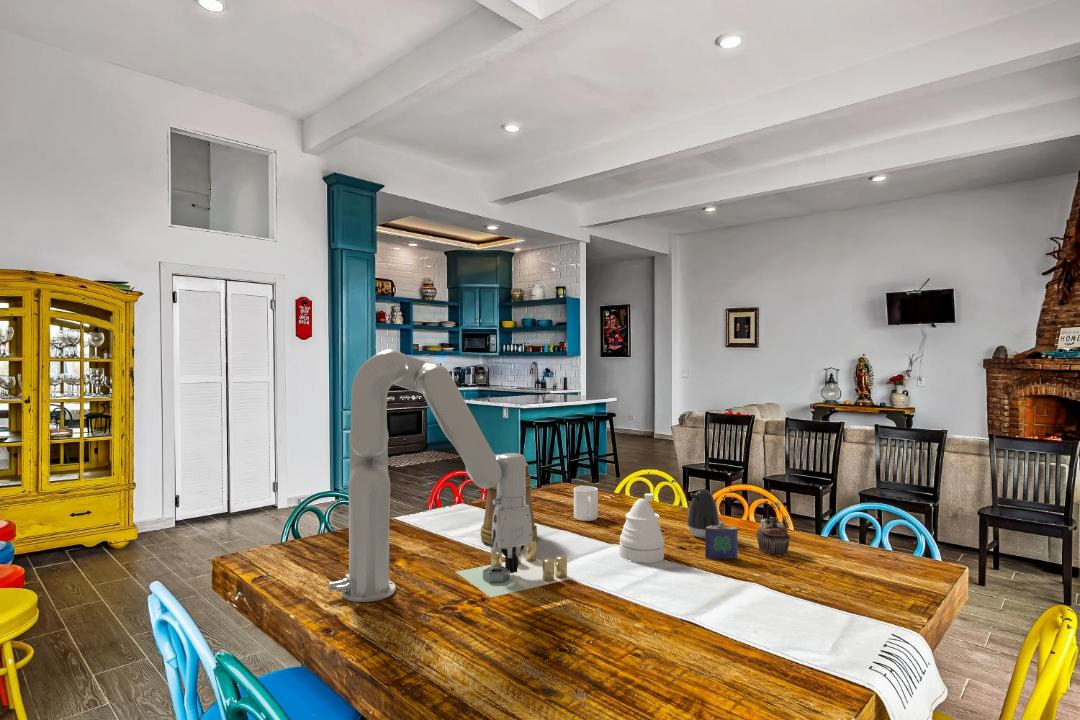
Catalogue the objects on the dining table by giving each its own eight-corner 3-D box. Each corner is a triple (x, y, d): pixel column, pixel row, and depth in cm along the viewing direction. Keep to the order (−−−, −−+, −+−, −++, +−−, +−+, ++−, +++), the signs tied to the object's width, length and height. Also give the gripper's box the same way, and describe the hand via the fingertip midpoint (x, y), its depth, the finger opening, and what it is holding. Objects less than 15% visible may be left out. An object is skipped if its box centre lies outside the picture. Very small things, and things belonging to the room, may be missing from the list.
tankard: (477, 548, 184) (477, 465, 183) (485, 526, 207) (485, 453, 207) (537, 548, 183) (537, 466, 183) (538, 526, 207) (538, 453, 207)
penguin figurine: (680, 533, 200) (680, 487, 200) (705, 530, 204) (705, 485, 204) (700, 542, 190) (700, 494, 190) (726, 538, 195) (726, 491, 195)
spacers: (522, 588, 150) (523, 567, 150) (489, 566, 165) (489, 548, 165) (569, 577, 158) (569, 558, 158) (532, 557, 173) (532, 540, 173)
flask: (736, 557, 177) (736, 520, 177) (739, 560, 174) (739, 523, 174) (704, 556, 177) (704, 520, 177) (706, 560, 174) (706, 522, 174)
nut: (492, 585, 152) (492, 576, 152) (479, 577, 157) (479, 568, 157) (513, 580, 155) (513, 572, 155) (500, 572, 161) (500, 564, 161)
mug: (579, 524, 210) (579, 493, 210) (571, 515, 222) (571, 486, 222) (603, 523, 212) (603, 492, 212) (594, 514, 224) (594, 485, 223)
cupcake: (795, 557, 177) (796, 523, 177) (762, 556, 177) (762, 522, 177) (783, 546, 187) (783, 514, 186) (751, 546, 187) (751, 514, 187)
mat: (490, 600, 144) (490, 597, 144) (455, 574, 161) (455, 571, 161) (572, 581, 157) (572, 578, 157) (532, 559, 174) (532, 556, 174)
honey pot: (661, 549, 184) (662, 490, 183) (666, 564, 171) (666, 500, 171) (618, 548, 185) (619, 488, 185) (620, 562, 172) (620, 498, 172)
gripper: (492, 508, 151) (493, 581, 152) (543, 500, 159) (543, 570, 160) (479, 502, 158) (479, 572, 158) (528, 494, 166) (528, 561, 166)
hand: (511, 571), depth 159 cm, fingers closed
